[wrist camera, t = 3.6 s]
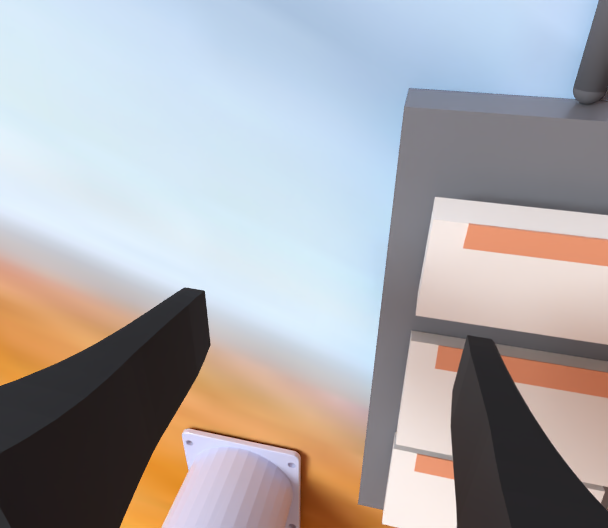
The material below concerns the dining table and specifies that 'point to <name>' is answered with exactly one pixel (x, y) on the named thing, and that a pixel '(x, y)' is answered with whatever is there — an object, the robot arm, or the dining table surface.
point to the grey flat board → (484, 188)
